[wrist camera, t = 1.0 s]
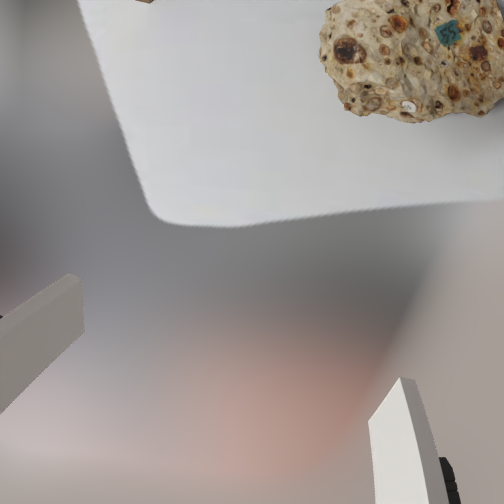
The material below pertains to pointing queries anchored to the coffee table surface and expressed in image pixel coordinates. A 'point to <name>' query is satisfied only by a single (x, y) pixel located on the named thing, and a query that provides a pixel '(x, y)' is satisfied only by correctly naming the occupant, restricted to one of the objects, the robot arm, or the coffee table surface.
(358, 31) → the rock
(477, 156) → the coffee table surface
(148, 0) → the light brown wooden block
